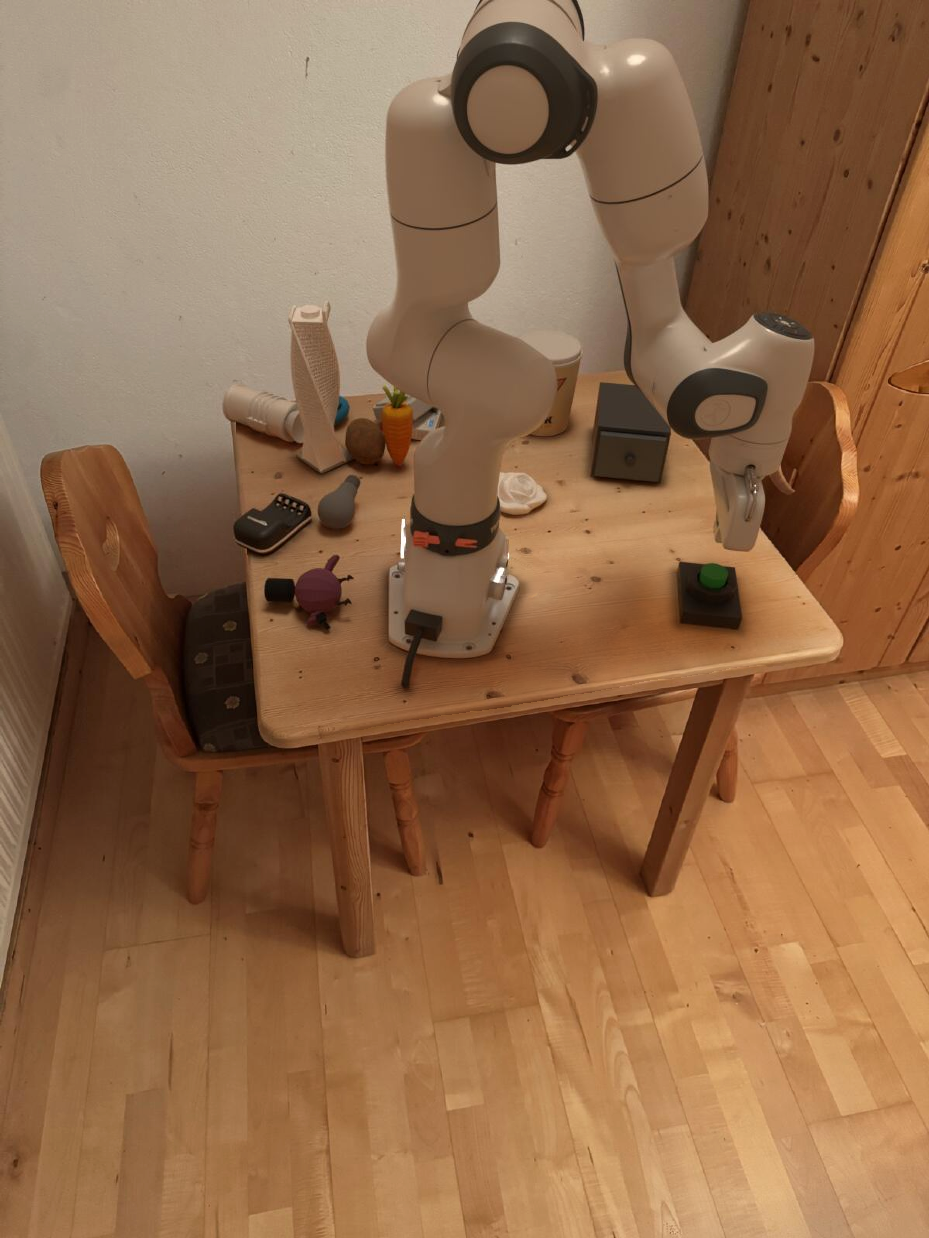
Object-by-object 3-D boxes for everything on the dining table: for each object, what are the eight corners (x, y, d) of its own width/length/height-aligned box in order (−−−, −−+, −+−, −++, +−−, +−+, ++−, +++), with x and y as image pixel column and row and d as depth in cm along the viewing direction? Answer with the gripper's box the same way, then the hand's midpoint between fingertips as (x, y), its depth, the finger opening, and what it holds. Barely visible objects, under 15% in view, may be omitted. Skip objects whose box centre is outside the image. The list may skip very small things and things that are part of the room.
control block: (738, 629, 122) (745, 608, 119) (679, 623, 123) (685, 601, 120) (731, 578, 130) (738, 557, 127) (676, 572, 130) (681, 551, 128)
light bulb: (378, 488, 139) (351, 535, 134) (351, 491, 142) (324, 537, 137) (360, 462, 135) (331, 510, 130) (333, 465, 138) (304, 512, 133)
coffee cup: (497, 428, 159) (502, 349, 149) (526, 400, 166) (532, 323, 156) (557, 446, 155) (566, 367, 145) (583, 417, 162) (594, 339, 152)
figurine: (262, 628, 120) (348, 632, 118) (253, 574, 116) (342, 577, 115) (281, 602, 127) (363, 605, 125) (274, 550, 123) (358, 553, 122)
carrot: (377, 467, 149) (373, 385, 138) (396, 454, 152) (394, 374, 141) (400, 477, 147) (398, 395, 136) (419, 465, 150) (418, 383, 139)
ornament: (324, 416, 152) (282, 397, 156) (327, 438, 155) (287, 419, 160) (356, 394, 156) (315, 376, 161) (359, 417, 160) (319, 398, 164)
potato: (337, 415, 149) (343, 446, 154) (347, 445, 142) (352, 478, 147) (376, 407, 150) (381, 439, 154) (387, 438, 143) (391, 470, 148)
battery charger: (312, 500, 135) (262, 538, 128) (314, 520, 137) (265, 559, 130) (277, 485, 137) (225, 522, 130) (280, 505, 140) (229, 543, 133)
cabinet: (660, 483, 148) (671, 432, 141) (590, 476, 148) (597, 425, 142) (658, 436, 158) (668, 387, 152) (592, 430, 159) (599, 381, 152)
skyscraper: (360, 462, 149) (349, 299, 130) (321, 480, 145) (304, 315, 126) (329, 441, 154) (315, 281, 135) (290, 458, 149) (270, 296, 130)
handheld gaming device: (408, 400, 150) (415, 422, 151) (451, 372, 160) (456, 392, 162) (367, 405, 154) (373, 425, 156) (410, 376, 165) (416, 396, 167)
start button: (726, 590, 122) (729, 581, 121) (699, 587, 123) (702, 578, 121) (724, 574, 125) (726, 564, 124) (698, 571, 125) (700, 561, 124)
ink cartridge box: (445, 399, 161) (392, 393, 162) (434, 430, 153) (378, 424, 154) (444, 411, 163) (392, 405, 164) (434, 443, 155) (379, 436, 156)
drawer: (658, 486, 145) (666, 445, 140) (594, 480, 146) (600, 438, 141) (656, 439, 156) (664, 399, 151) (596, 433, 157) (602, 393, 151)
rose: (486, 458, 143) (546, 459, 144) (485, 481, 147) (543, 481, 147) (488, 493, 136) (551, 494, 136) (486, 517, 139) (548, 518, 139)
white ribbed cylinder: (294, 453, 151) (227, 429, 157) (319, 431, 155) (252, 408, 161) (286, 420, 146) (217, 397, 152) (311, 398, 150) (243, 375, 156)
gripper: (785, 495, 102) (753, 588, 111) (762, 410, 117) (735, 497, 126) (730, 489, 102) (702, 582, 111) (714, 405, 117) (691, 493, 126)
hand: (720, 537), depth 119 cm, fingers closed
